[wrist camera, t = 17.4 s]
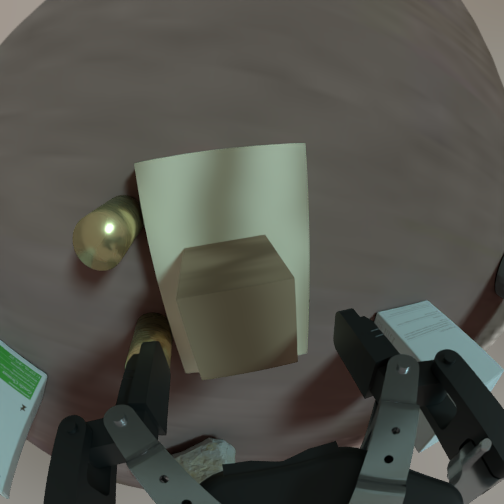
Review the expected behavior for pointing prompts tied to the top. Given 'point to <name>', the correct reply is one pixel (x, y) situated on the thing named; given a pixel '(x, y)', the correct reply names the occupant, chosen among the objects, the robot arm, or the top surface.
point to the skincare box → (16, 409)
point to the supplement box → (433, 348)
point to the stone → (205, 458)
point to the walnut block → (237, 307)
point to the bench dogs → (119, 259)
